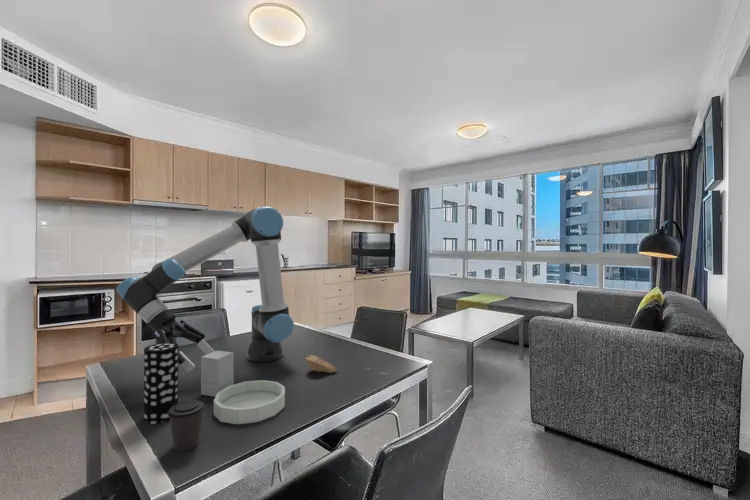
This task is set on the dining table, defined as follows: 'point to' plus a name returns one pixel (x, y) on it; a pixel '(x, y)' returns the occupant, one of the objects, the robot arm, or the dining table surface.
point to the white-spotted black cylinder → (160, 381)
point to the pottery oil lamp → (319, 364)
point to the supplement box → (216, 372)
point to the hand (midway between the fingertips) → (202, 361)
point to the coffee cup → (186, 424)
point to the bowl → (249, 401)
